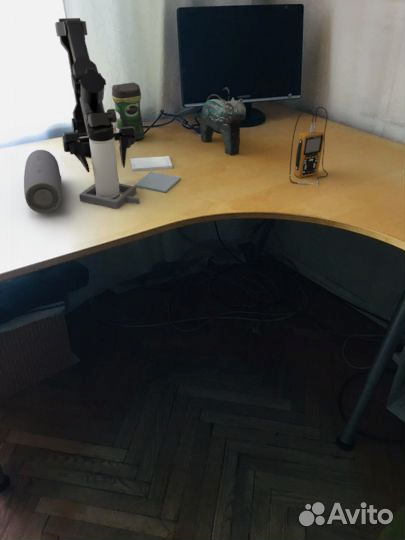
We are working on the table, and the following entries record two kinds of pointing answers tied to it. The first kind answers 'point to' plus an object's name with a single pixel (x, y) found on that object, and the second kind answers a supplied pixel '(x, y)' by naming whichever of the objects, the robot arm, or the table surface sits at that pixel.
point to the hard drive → (151, 163)
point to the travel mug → (104, 161)
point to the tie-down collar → (111, 203)
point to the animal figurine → (223, 121)
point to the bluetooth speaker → (42, 182)
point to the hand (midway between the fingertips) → (106, 169)
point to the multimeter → (309, 151)
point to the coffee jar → (128, 107)
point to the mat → (157, 182)
